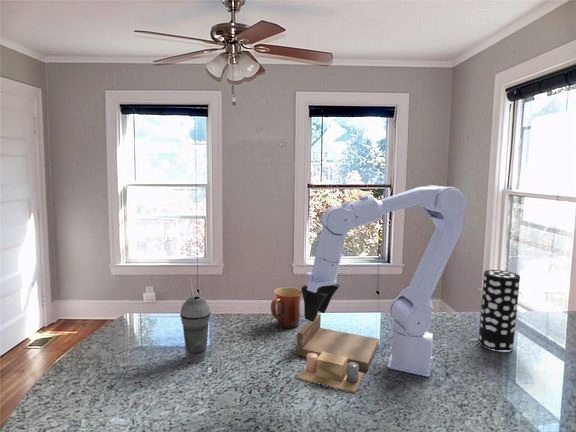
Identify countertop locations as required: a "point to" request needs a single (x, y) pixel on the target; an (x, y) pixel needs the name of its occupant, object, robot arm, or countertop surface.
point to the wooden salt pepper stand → (332, 371)
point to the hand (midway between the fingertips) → (314, 315)
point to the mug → (287, 306)
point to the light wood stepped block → (336, 343)
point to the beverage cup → (195, 327)
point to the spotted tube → (498, 309)
